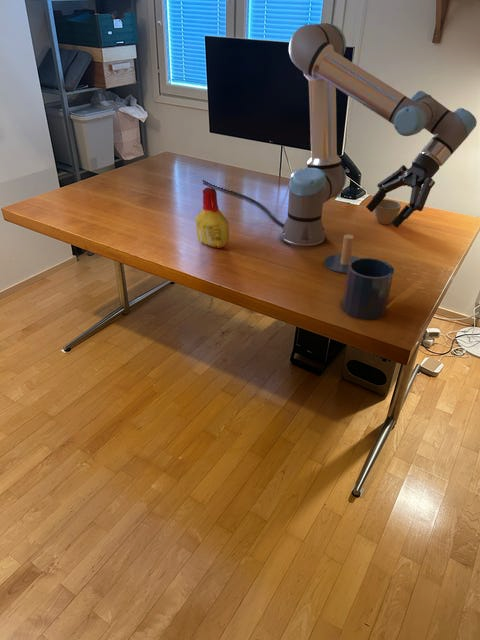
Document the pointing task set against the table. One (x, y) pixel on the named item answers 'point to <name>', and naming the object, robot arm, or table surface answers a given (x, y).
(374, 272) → the dark blue cylinder
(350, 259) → the lid
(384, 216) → the flower pot
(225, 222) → the bottle
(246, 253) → the table surface
